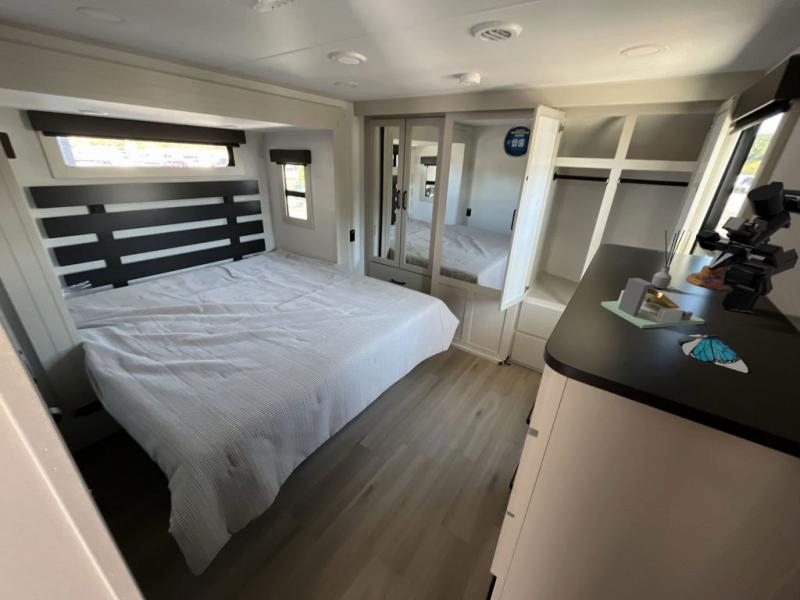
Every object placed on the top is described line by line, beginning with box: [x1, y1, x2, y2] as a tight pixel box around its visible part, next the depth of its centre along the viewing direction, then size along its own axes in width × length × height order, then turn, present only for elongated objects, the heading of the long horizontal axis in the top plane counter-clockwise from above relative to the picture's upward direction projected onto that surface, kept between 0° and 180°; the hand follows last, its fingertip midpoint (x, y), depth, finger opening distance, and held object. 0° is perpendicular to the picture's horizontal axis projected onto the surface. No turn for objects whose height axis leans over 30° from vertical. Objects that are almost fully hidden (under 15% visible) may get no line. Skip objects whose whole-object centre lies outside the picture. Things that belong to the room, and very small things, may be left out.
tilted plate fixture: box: [600, 277, 706, 329], centre depth 87 cm, size 20×14×10 cm
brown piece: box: [685, 264, 728, 291], centre depth 112 cm, size 12×12×7 cm
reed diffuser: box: [651, 229, 686, 289], centre depth 105 cm, size 10×7×20 cm
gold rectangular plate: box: [645, 288, 686, 316], centre depth 87 cm, size 1×10×13 cm
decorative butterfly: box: [677, 334, 749, 374], centre depth 71 cm, size 10×6×10 cm
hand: (709, 269), depth 87 cm, fingers closed
